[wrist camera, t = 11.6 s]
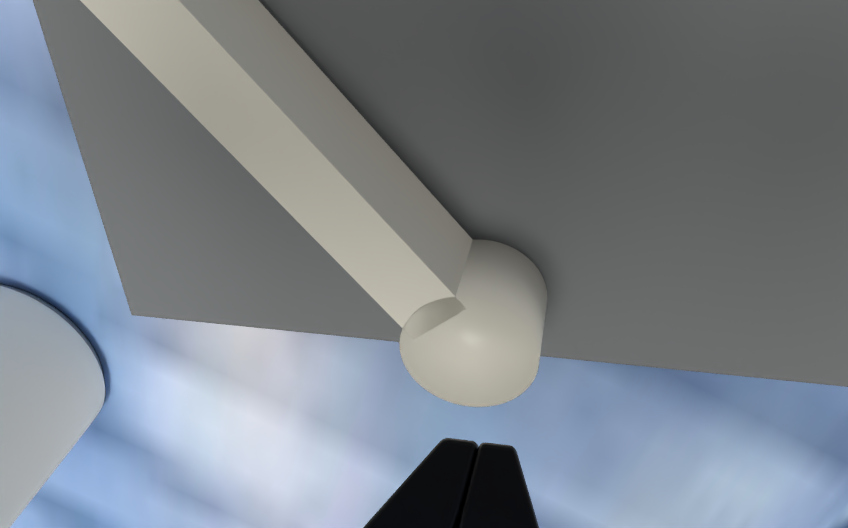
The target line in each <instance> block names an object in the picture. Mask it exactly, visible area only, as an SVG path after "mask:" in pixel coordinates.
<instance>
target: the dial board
mask: <svg viewBox="0 0 848 528" xmlns="http://www.w3.org/2000/svg"><path fill="white" fill-rule="evenodd" d="M259 1H260V3H261V4H262V5H263V6H264V7H265V8H266V9H267V10H268V11H269V13H270V14H271V15H272V16H273V17H274V18H275V19H276V20H277V22H278V23H279V24H280V25H281V26H282V27H283V28H284V29H285V30H286V32H287V33H288V34H289V35H290V36H291V37H292V38H293V39H294V41H295V42H296V43H297V44H298V45H299V46H300V47H301V48H302V49H303V51H304V52H305V53H306V54H307V55H308V56H309V57H310V58H311V60H312V61H313V62H314V63H315V64H316V65H317V66H318V67H319V68H320V70H321V71H322V72H323V73H324V74H325V75H326V76H327V77H328V79H329V80H330V81H331V82H332V83H333V84H334V85H335V86H336V87H337V89H338V90H339V91H340V92H341V93H342V94H343V95H344V96H345V98H346V99H347V100H348V101H349V102H350V103H351V104H352V105H353V106H354V108H355V109H356V110H357V111H358V112H359V113H360V114H361V115H362V117H363V118H364V119H365V120H366V121H367V122H368V123H369V124H370V125H371V127H372V128H373V129H374V130H375V131H376V132H377V133H378V134H379V136H380V137H381V138H382V139H383V140H384V141H385V142H386V143H387V144H388V146H389V147H390V148H391V149H392V150H393V151H394V152H395V153H396V155H397V156H398V157H399V158H400V159H401V160H402V161H403V162H404V163H405V165H406V166H407V167H408V168H409V169H410V170H411V171H412V172H413V173H414V175H415V176H416V177H417V178H418V179H419V180H420V181H421V182H422V184H423V185H424V186H425V187H426V188H427V189H428V190H429V191H430V192H431V194H432V195H433V196H434V197H435V198H436V199H437V200H438V201H439V203H440V204H441V205H442V206H443V207H444V208H445V209H446V210H447V211H448V213H449V214H450V215H451V216H452V217H453V218H454V219H455V220H456V222H457V223H458V224H459V225H460V226H461V227H462V228H463V229H464V230H465V232H466V233H467V234H468V235H469V236H470V237H471V238H472V239H473V240H480V239H481V240H490V241H495V242H499V243H502V244H505V245H508V246H510V247H512V248H514V249H516V250H518V251H519V252H521V253H522V254H524V255H525V256H526V257H527V258H529V259H530V260H531V261H532V262H533V263H534V265H535V266H536V267H537V268H538V270H539V271H540V273H541V275H542V277H543V279H544V282H545V285H546V289H547V306H546V313H545V321H544V329H543V337H542V345H541V352H540V356H546V357H556V358H566V359H576V360H586V361H596V362H606V363H616V364H626V365H636V366H646V367H656V368H666V369H676V370H686V371H696V372H706V373H716V374H726V375H736V376H746V377H756V378H766V379H776V380H786V381H796V382H806V383H816V384H826V385H836V386H846V387H848V0H259ZM33 2H34V6H35V9H36V12H37V15H38V18H39V21H40V25H41V28H42V31H43V34H44V37H45V41H46V44H47V47H48V50H49V53H50V56H51V60H52V63H53V66H54V69H55V72H56V76H57V79H58V82H59V85H60V88H61V91H62V95H63V98H64V101H65V104H66V107H67V110H68V114H69V117H70V120H71V123H72V126H73V130H74V133H75V136H76V139H77V142H78V145H79V149H80V152H81V155H82V158H83V161H84V164H85V168H86V171H87V174H88V177H89V180H90V184H91V187H92V190H93V193H94V196H95V199H96V203H97V206H98V209H99V212H100V215H101V219H102V222H103V225H104V228H105V231H106V234H107V238H108V241H109V244H110V247H111V250H112V253H113V257H114V260H115V263H116V266H117V269H118V273H119V276H120V279H121V282H122V285H123V288H124V292H125V295H126V298H127V301H128V304H129V308H130V311H131V314H132V315H136V316H146V317H156V318H166V319H176V320H186V321H196V322H206V323H216V324H226V325H236V326H246V327H256V328H266V329H276V330H286V331H296V332H306V333H316V334H326V335H336V336H346V337H356V338H366V339H376V340H386V341H396V342H400V335H401V332H402V328H401V326H400V325H399V324H398V323H397V322H396V321H395V320H394V319H393V318H392V317H391V316H390V315H389V314H388V313H387V312H386V311H385V310H384V309H383V308H382V307H381V306H380V305H379V304H378V303H377V302H376V301H375V300H374V299H373V298H372V297H371V296H370V295H369V294H368V293H367V292H366V291H365V290H364V289H363V288H362V287H361V286H360V285H359V284H358V283H357V282H356V281H355V280H354V279H353V278H352V277H351V276H350V275H349V274H348V273H347V271H346V270H345V269H344V268H343V267H342V266H341V265H340V264H339V263H338V262H337V261H336V260H335V259H334V258H333V257H332V256H331V255H330V254H329V253H328V252H327V251H326V250H325V249H324V248H323V247H322V246H321V245H320V244H319V243H318V242H317V241H316V240H315V239H314V238H313V237H312V236H311V235H310V234H309V233H308V232H307V231H306V230H305V229H304V228H303V227H302V226H301V225H300V224H299V223H298V222H297V221H296V220H295V219H294V218H293V216H292V215H291V214H290V213H289V212H288V211H287V210H286V209H285V208H284V207H283V206H282V205H281V204H280V203H279V202H278V201H277V200H276V199H275V198H274V197H273V196H272V195H271V194H270V193H269V192H268V191H267V190H266V189H265V188H264V187H263V186H262V185H261V184H260V183H259V182H258V181H257V180H256V179H255V178H254V177H253V176H252V175H251V174H250V173H249V172H248V171H247V170H246V169H245V168H244V167H243V166H242V165H241V164H240V163H239V162H238V160H237V159H236V158H235V157H234V156H233V155H232V154H231V153H230V152H229V151H228V150H227V149H226V148H225V147H224V146H223V145H222V144H221V143H220V142H219V141H218V140H217V139H216V138H215V137H214V136H213V135H212V134H211V133H210V132H209V131H208V130H207V129H206V128H205V127H204V126H203V125H202V124H201V123H200V122H199V121H198V120H197V119H196V118H195V117H194V116H193V115H192V114H191V113H190V112H189V111H188V110H187V109H186V108H185V107H184V105H183V104H182V103H181V102H180V101H179V100H178V99H177V98H176V97H175V96H174V95H173V94H172V93H171V92H170V91H169V90H168V89H167V88H166V87H165V86H164V85H163V84H162V83H161V82H160V81H159V80H158V79H157V78H156V77H155V76H154V75H153V74H152V73H151V72H150V71H149V70H148V69H147V68H146V67H145V66H144V65H143V64H142V63H141V62H140V61H139V60H138V59H137V58H136V57H135V56H134V55H133V54H132V53H131V52H130V51H129V49H128V48H127V47H126V46H125V45H124V44H123V43H122V42H121V41H120V40H119V39H118V38H117V37H116V36H115V35H114V34H113V33H112V32H111V31H110V30H109V29H108V28H107V27H106V26H105V25H104V24H103V23H102V22H101V21H100V20H99V19H98V18H97V17H96V16H95V15H94V14H93V13H92V12H91V11H90V10H89V9H88V8H87V7H86V6H85V5H84V4H83V3H82V2H81V1H80V0H33Z"/></svg>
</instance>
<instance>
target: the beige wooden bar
mask: <svg viewBox="0 0 848 528" xmlns="http://www.w3.org/2000/svg"><path fill="white" fill-rule="evenodd" d="M80 1H81V2H82V3H83V4H84V5H85V6H86V7H87V8H88V9H89V10H90V11H91V12H92V13H93V14H94V15H95V16H96V17H97V18H98V19H99V20H100V21H101V22H102V23H103V24H104V25H105V26H106V27H107V28H108V29H109V30H110V31H111V32H112V33H113V34H114V35H115V36H116V37H117V38H118V39H119V40H120V41H121V42H122V43H123V44H124V45H125V46H126V47H127V48H128V49H129V51H130V52H131V53H132V54H133V55H134V56H135V57H136V58H137V59H138V60H139V61H140V62H141V63H142V64H143V65H144V66H145V67H146V68H147V69H148V70H149V71H150V72H151V73H152V74H153V75H154V76H155V77H156V78H157V79H158V80H159V81H160V82H161V83H162V84H163V85H164V86H165V87H166V88H167V89H168V90H169V91H170V92H171V93H172V94H173V95H174V96H175V97H176V98H177V99H178V100H179V101H180V102H181V103H182V104H183V105H184V107H185V108H186V109H187V110H188V111H189V112H190V113H191V114H192V115H193V116H194V117H195V118H196V119H197V120H198V121H199V122H200V123H201V124H202V125H203V126H204V127H205V128H206V129H207V130H208V131H209V132H210V133H211V134H212V135H213V136H214V137H215V138H216V139H217V140H218V141H219V142H220V143H221V144H222V145H223V146H224V147H225V148H226V149H227V150H228V151H229V152H230V153H231V154H232V155H233V156H234V157H235V158H236V159H237V160H238V162H239V163H240V164H241V165H242V166H243V167H244V168H245V169H246V170H247V171H248V172H249V173H250V174H251V175H252V176H253V177H254V178H255V179H256V180H257V181H258V182H259V183H260V184H261V185H262V186H263V187H264V188H265V189H266V190H267V191H268V192H269V193H270V194H271V195H272V196H273V197H274V198H275V199H276V200H277V201H278V202H279V203H280V204H281V205H282V206H283V207H284V208H285V209H286V210H287V211H288V212H289V213H290V214H291V215H292V216H293V218H294V219H295V220H296V221H297V222H298V223H299V224H300V225H301V226H302V227H303V228H304V229H305V230H306V231H307V232H308V233H309V234H310V235H311V236H312V237H313V238H314V239H315V240H316V241H317V242H318V243H319V244H320V245H321V246H322V247H323V248H324V249H325V250H326V251H327V252H328V253H329V254H330V255H331V256H332V257H333V258H334V259H335V260H336V261H337V262H338V263H339V264H340V265H341V266H342V267H343V268H344V269H345V270H346V271H347V273H348V274H349V275H350V276H351V277H352V278H353V279H354V280H355V281H356V282H357V283H358V284H359V285H360V286H361V287H362V288H363V289H364V290H365V291H366V292H367V293H368V294H369V295H370V296H371V297H372V298H373V299H374V300H375V301H376V302H377V303H378V304H379V305H380V306H381V307H382V308H383V309H384V310H385V311H386V312H387V313H388V314H389V315H390V316H391V317H392V318H393V319H394V320H395V321H396V322H397V323H398V324H399V325H400V326H401V328H402V332H401V335H400V342H399V344H400V353H401V357H402V360H403V363H404V365H405V367H406V369H407V370H408V372H409V373H410V375H411V376H412V377H413V378H414V380H415V381H416V382H417V383H418V384H419V385H421V386H422V387H423V388H424V389H426V390H427V391H428V392H430V393H431V394H433V395H435V396H437V397H439V398H441V399H443V400H445V401H448V402H451V403H454V404H458V405H463V406H470V407H489V406H495V405H499V404H503V403H506V402H508V401H510V400H513V399H514V398H516V397H518V396H519V395H521V394H522V393H523V392H525V390H526V389H527V388H528V387H529V386H530V385H531V384H532V382H533V381H534V379H535V377H536V374H537V371H538V368H539V360H540V352H541V345H542V337H543V329H544V321H545V313H546V306H547V289H546V285H545V282H544V279H543V277H542V275H541V273H540V271H539V270H538V268H537V267H536V266H535V265H534V263H533V262H532V261H531V260H530V259H529V258H527V257H526V256H525V255H524V254H522V253H521V252H519V251H518V250H516V249H514V248H512V247H510V246H508V245H505V244H502V243H499V242H495V241H490V240H481V239H480V240H473V239H472V238H471V237H470V236H469V235H468V234H467V233H466V232H465V230H464V229H463V228H462V227H461V226H460V225H459V224H458V223H457V222H456V220H455V219H454V218H453V217H452V216H451V215H450V214H449V213H448V211H447V210H446V209H445V208H444V207H443V206H442V205H441V204H440V203H439V201H438V200H437V199H436V198H435V197H434V196H433V195H432V194H431V192H430V191H429V190H428V189H427V188H426V187H425V186H424V185H423V184H422V182H421V181H420V180H419V179H418V178H417V177H416V176H415V175H414V173H413V172H412V171H411V170H410V169H409V168H408V167H407V166H406V165H405V163H404V162H403V161H402V160H401V159H400V158H399V157H398V156H397V155H396V153H395V152H394V151H393V150H392V149H391V148H390V147H389V146H388V144H387V143H386V142H385V141H384V140H383V139H382V138H381V137H380V136H379V134H378V133H377V132H376V131H375V130H374V129H373V128H372V127H371V125H370V124H369V123H368V122H367V121H366V120H365V119H364V118H363V117H362V115H361V114H360V113H359V112H358V111H357V110H356V109H355V108H354V106H353V105H352V104H351V103H350V102H349V101H348V100H347V99H346V98H345V96H344V95H343V94H342V93H341V92H340V91H339V90H338V89H337V87H336V86H335V85H334V84H333V83H332V82H331V81H330V80H329V79H328V77H327V76H326V75H325V74H324V73H323V72H322V71H321V70H320V68H319V67H318V66H317V65H316V64H315V63H314V62H313V61H312V60H311V58H310V57H309V56H308V55H307V54H306V53H305V52H304V51H303V49H302V48H301V47H300V46H299V45H298V44H297V43H296V42H295V41H294V39H293V38H292V37H291V36H290V35H289V34H288V33H287V32H286V30H285V29H284V28H283V27H282V26H281V25H280V24H279V23H278V22H277V20H276V19H275V18H274V17H273V16H272V15H271V14H270V13H269V11H268V10H267V9H266V8H265V7H264V6H263V5H262V4H261V3H260V1H259V0H80Z"/></svg>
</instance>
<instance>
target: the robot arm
mask: <svg viewBox="0 0 848 528" xmlns="http://www.w3.org/2000/svg"><path fill="white" fill-rule="evenodd" d="M364 528H539V526H538V523H537V519H536V516H535V512H534V509H533V506H532V502H531V499H530V495H529V492H528V489H527V485H526V482H525V479H524V475H523V472H522V468H521V465H520V462H519V458H518V455H517V452H516V450H515V448H514V447H512V446H509V445H501V444H493V443H482V444H481V445H480V446H479V447H478V445H477V444H476V443H475V442H474V441H468V440H460V439H451V438H446V439H443V440H442V441H440V442H439V443H438V444H437V446H436V447H435V448H434V449H433V450H432V451H431V452H430V453H429V455H428V456H427V457H426V458H425V459H424V460H423V461H422V462H421V464H420V465H419V466H418V467H417V468H416V469H415V470H414V471H413V472H412V474H411V475H410V476H409V477H408V478H407V479H406V480H405V481H404V483H403V484H402V485H401V486H400V487H399V488H398V489H397V490H396V492H395V493H394V494H393V495H392V496H391V497H390V498H389V499H388V501H387V502H386V503H385V504H384V505H383V506H382V507H381V508H380V510H379V511H378V512H377V513H376V514H375V515H374V516H373V517H372V519H371V520H370V521H369V522H368V523H367V524H366V525H365V526H364Z"/></svg>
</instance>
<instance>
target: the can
mask: <svg viewBox="0 0 848 528" xmlns="http://www.w3.org/2000/svg"><path fill="white" fill-rule="evenodd" d="M104 399H105V383H104V377H103V371H102V367H101V363H100V361H99V358H98V356H97V354H96V352H95V350H94V348H93V347H92V345H91V343H90V342H89V340H88V339H87V338H86V336H85V335H84V334H83V333H82V332H81V330H80V329H79V328H78V327H77V326H76V325H75V324H74V323H73V322H72V321H71V320H70V319H69V318H68V317H66V316H65V315H64V314H63V313H62V312H60V311H59V310H58V309H56V308H55V307H53V306H52V305H50V304H49V303H47V302H46V301H44V300H42V299H40V298H38V297H36V296H34V295H32V294H30V293H28V292H25V291H23V290H20V289H17V288H14V287H11V286H6V285H1V284H0V528H10V527H11V525H12V524H13V523H14V521H15V520H16V519H17V518H18V516H19V515H20V514H21V513H22V511H23V510H24V509H25V508H26V506H27V505H28V504H29V502H30V501H31V500H32V499H33V497H34V496H35V495H36V494H37V492H38V491H39V490H40V489H41V487H42V486H43V485H44V483H45V482H46V481H47V480H48V478H49V477H50V476H51V475H52V473H53V472H54V471H55V469H56V468H57V467H58V466H59V464H60V463H61V462H62V460H63V459H64V458H65V457H66V455H67V454H68V453H69V452H70V450H71V449H72V448H73V446H74V445H75V444H76V443H77V441H78V440H79V439H80V437H81V436H82V435H83V434H84V432H85V431H86V430H87V428H88V427H89V426H90V424H91V423H92V422H93V420H94V419H95V418H96V416H97V415H98V413H99V412H100V410H101V408H102V406H103V403H104Z"/></svg>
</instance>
